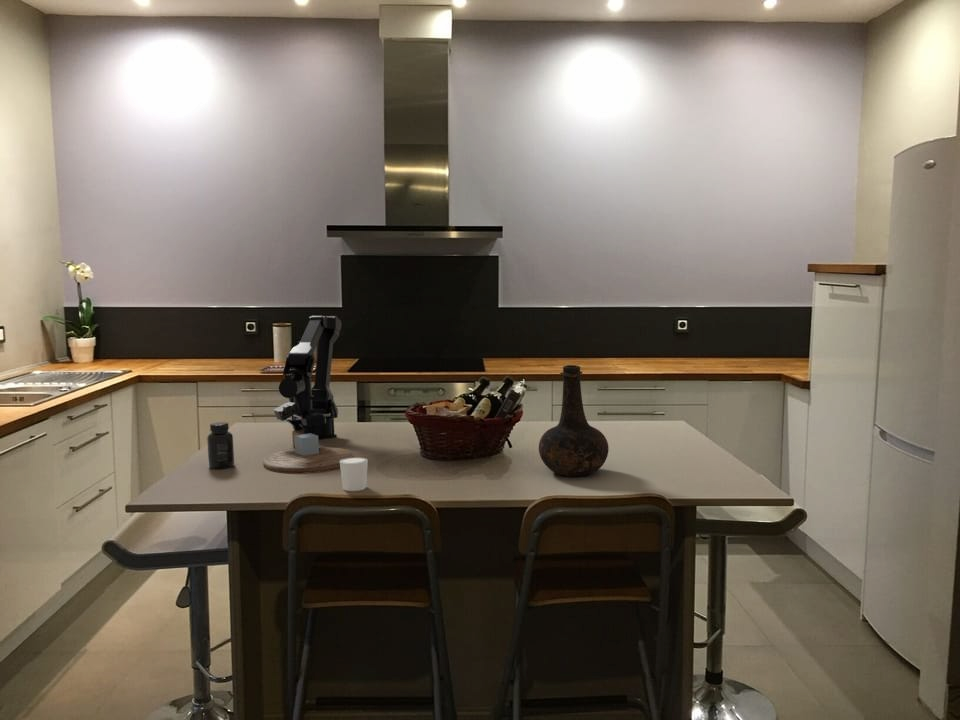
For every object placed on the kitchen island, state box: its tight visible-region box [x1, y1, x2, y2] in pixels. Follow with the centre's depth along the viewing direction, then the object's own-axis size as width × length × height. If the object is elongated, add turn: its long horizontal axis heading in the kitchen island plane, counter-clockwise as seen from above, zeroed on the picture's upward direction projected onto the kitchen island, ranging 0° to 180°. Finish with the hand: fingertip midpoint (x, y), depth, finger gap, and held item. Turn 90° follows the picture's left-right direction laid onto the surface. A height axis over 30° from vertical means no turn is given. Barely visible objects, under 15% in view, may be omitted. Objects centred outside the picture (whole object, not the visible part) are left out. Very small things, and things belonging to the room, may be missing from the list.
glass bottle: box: [538, 364, 610, 477], centre depth 218 cm, size 18×18×28 cm
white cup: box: [339, 456, 369, 492], centre depth 207 cm, size 7×7×7 cm
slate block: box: [294, 433, 320, 456], centre depth 241 cm, size 5×5×5 cm
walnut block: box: [291, 430, 304, 448], centre depth 255 cm, size 5×5×5 cm
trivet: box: [262, 446, 355, 474], centre depth 236 cm, size 25×25×2 cm
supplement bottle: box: [206, 421, 235, 470], centre depth 232 cm, size 7×7×12 cm
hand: (304, 444), depth 255 cm, fingers closed on walnut block, 5 cm apart
